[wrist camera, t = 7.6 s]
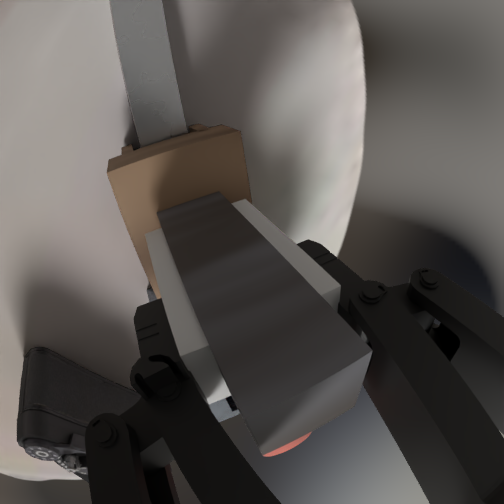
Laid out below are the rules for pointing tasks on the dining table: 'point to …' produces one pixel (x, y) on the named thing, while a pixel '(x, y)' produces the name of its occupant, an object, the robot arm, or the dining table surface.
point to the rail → (153, 93)
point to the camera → (63, 408)
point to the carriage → (240, 285)
